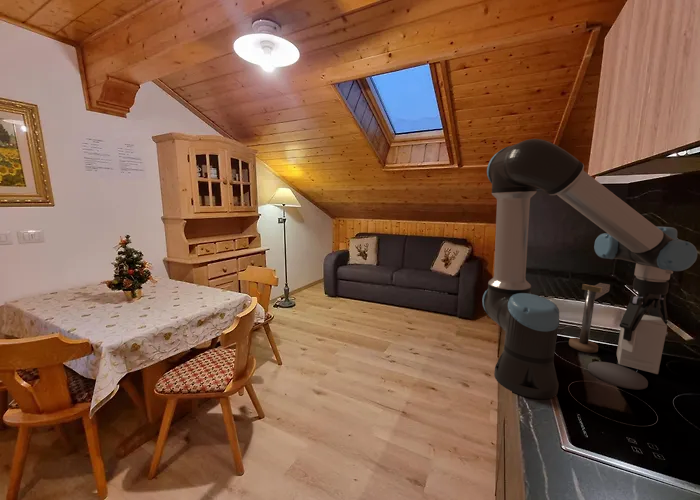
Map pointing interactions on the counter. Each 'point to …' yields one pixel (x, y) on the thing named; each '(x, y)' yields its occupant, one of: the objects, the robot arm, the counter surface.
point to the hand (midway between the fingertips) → (640, 346)
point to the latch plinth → (583, 345)
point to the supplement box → (644, 345)
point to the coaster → (618, 375)
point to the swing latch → (590, 307)
